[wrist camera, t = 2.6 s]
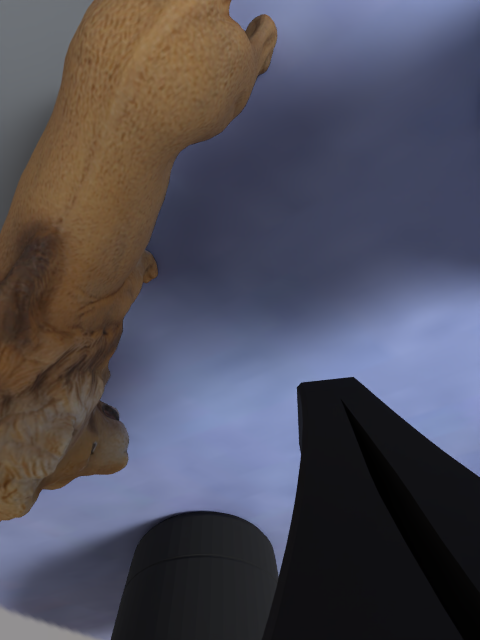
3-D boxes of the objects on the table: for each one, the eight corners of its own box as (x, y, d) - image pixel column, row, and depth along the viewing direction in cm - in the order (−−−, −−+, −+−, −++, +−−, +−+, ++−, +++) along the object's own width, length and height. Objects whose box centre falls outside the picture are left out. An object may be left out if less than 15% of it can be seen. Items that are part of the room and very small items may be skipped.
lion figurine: (155, 364, 16) (86, 584, 8) (33, 324, 15) (-185, 532, 7) (309, -29, 10) (593, -598, 2) (130, -140, 9) (-457, -1877, 1)
